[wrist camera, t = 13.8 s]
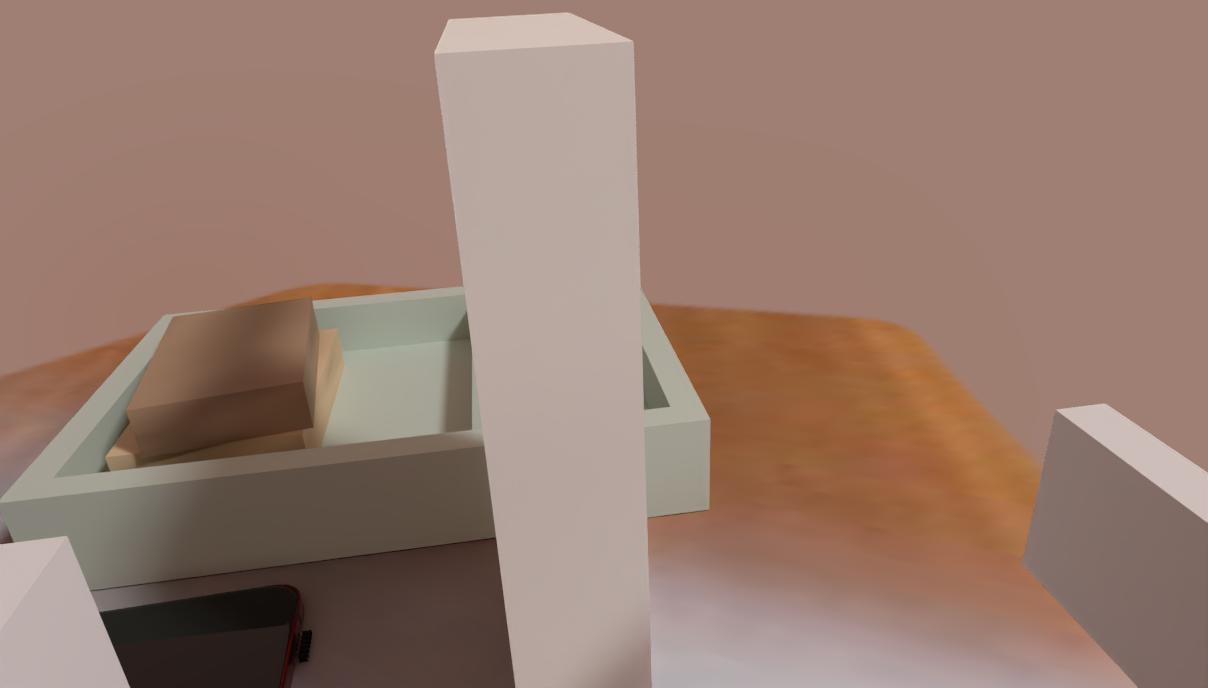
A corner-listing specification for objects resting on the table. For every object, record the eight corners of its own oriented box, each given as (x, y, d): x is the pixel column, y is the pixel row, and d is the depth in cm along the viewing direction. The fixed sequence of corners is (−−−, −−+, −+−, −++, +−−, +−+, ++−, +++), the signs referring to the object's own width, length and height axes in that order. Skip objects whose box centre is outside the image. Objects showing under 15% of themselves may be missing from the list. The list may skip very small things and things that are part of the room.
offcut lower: (121, 501, 30) (104, 457, 30) (198, 380, 39) (186, 344, 39) (312, 477, 31) (301, 433, 30) (344, 364, 40) (337, 328, 39)
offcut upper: (142, 458, 29) (125, 410, 29) (184, 356, 37) (172, 316, 36) (313, 427, 31) (302, 381, 30) (319, 335, 39) (311, 297, 38)
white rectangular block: (534, 834, 20) (434, 53, 12) (515, 582, 28) (449, 19, 20) (655, 813, 20) (633, 41, 12) (602, 570, 28) (569, 12, 20)
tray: (38, 597, 28) (-4, 503, 26) (185, 384, 42) (164, 314, 41) (709, 509, 31) (710, 419, 29) (633, 337, 45) (631, 270, 43)
